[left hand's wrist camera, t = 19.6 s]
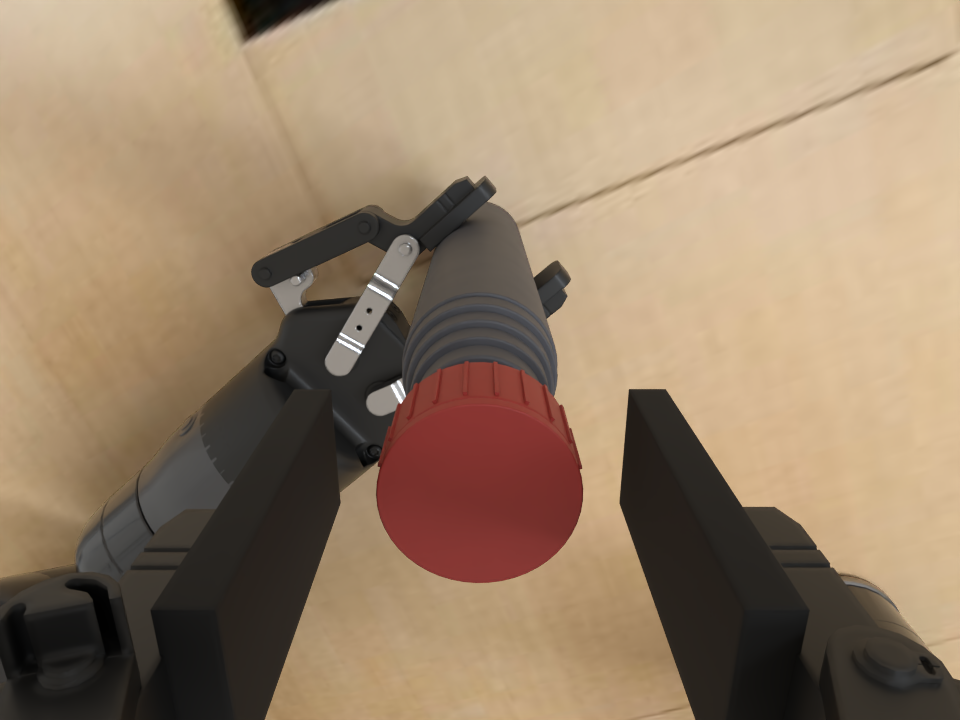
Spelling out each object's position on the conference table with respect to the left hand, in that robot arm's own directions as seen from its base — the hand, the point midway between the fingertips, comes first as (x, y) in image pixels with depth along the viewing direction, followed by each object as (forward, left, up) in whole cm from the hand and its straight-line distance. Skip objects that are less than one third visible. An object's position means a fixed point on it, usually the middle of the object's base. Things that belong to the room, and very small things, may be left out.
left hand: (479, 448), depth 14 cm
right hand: (-2, +1, -17) cm, 17 cm away
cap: (0, 0, +2) cm, 2 cm away
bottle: (0, 0, -23) cm, 23 cm away
